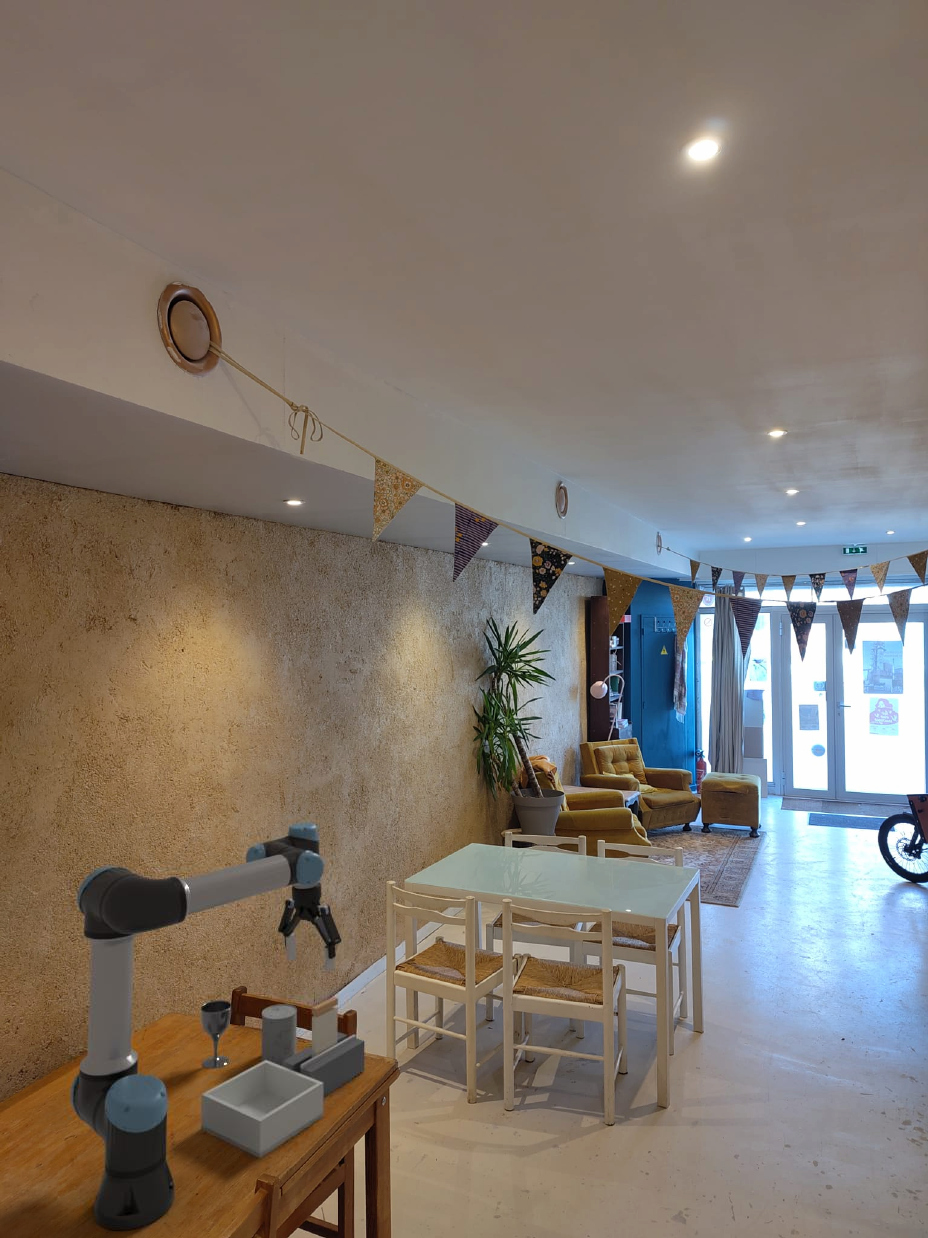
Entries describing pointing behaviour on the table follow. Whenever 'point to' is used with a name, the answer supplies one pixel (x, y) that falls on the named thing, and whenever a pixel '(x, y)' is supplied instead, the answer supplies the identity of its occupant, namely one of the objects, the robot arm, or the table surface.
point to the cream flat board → (324, 1026)
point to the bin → (262, 1107)
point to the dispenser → (331, 1063)
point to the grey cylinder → (278, 1033)
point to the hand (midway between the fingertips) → (310, 965)
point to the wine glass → (215, 1028)
